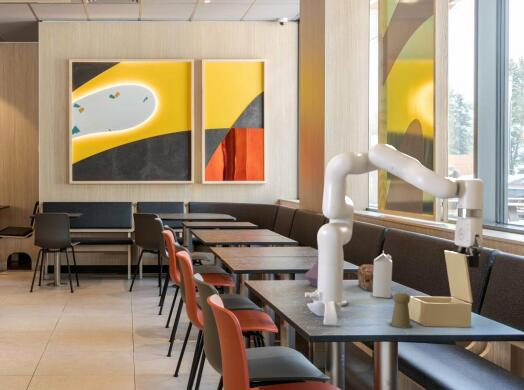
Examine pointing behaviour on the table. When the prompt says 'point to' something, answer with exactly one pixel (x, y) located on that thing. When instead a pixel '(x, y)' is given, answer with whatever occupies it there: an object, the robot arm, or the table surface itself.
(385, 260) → the milk carton
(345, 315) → the table surface
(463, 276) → the lid
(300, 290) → the table surface
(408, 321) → the cork
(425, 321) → the chest
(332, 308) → the spoon rest
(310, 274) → the flask
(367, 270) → the bread
